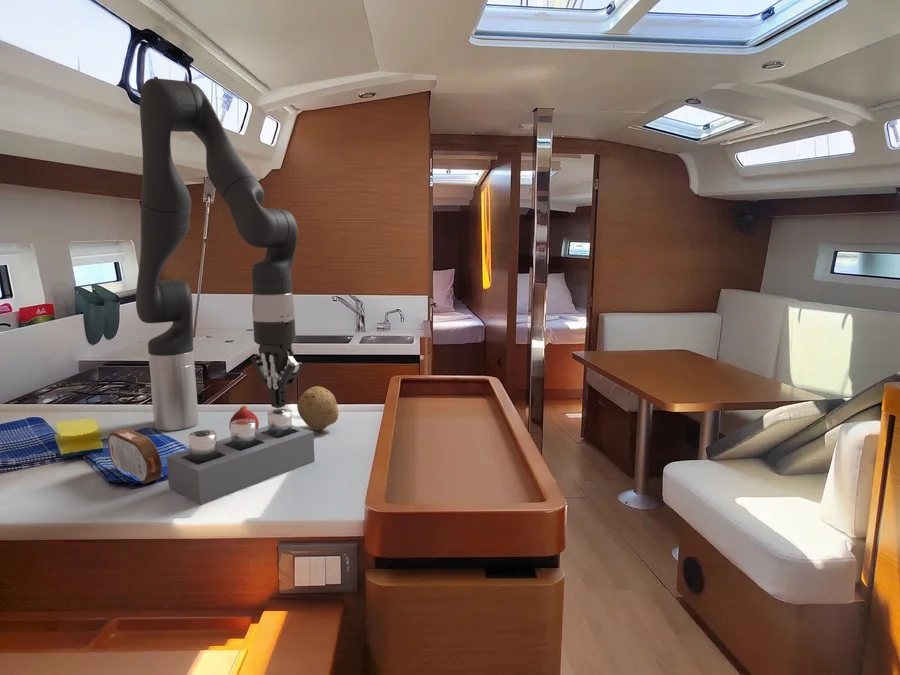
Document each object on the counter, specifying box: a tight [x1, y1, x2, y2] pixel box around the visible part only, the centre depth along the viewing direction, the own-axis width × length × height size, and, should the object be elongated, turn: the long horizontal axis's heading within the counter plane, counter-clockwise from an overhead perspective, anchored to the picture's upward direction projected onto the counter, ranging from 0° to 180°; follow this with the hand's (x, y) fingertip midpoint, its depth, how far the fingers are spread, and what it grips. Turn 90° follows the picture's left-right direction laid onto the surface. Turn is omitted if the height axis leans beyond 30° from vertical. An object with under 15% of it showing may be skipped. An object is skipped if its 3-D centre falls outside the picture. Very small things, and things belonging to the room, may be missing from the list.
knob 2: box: [267, 408, 293, 436], centre depth 116 cm, size 4×4×4 cm
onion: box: [229, 404, 260, 432], centre depth 127 cm, size 6×6×8 cm
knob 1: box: [187, 429, 218, 461], centre depth 103 cm, size 4×4×4 cm
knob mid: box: [229, 419, 257, 448], centre depth 110 cm, size 4×4×4 cm
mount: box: [165, 424, 315, 506], centre depth 111 cm, size 10×24×6 cm, turn 143°
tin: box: [107, 427, 163, 485], centre depth 109 cm, size 15×3×8 cm, turn 53°
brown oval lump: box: [296, 385, 340, 431], centre depth 135 cm, size 9×9×10 cm
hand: (278, 406), depth 115 cm, fingers closed
